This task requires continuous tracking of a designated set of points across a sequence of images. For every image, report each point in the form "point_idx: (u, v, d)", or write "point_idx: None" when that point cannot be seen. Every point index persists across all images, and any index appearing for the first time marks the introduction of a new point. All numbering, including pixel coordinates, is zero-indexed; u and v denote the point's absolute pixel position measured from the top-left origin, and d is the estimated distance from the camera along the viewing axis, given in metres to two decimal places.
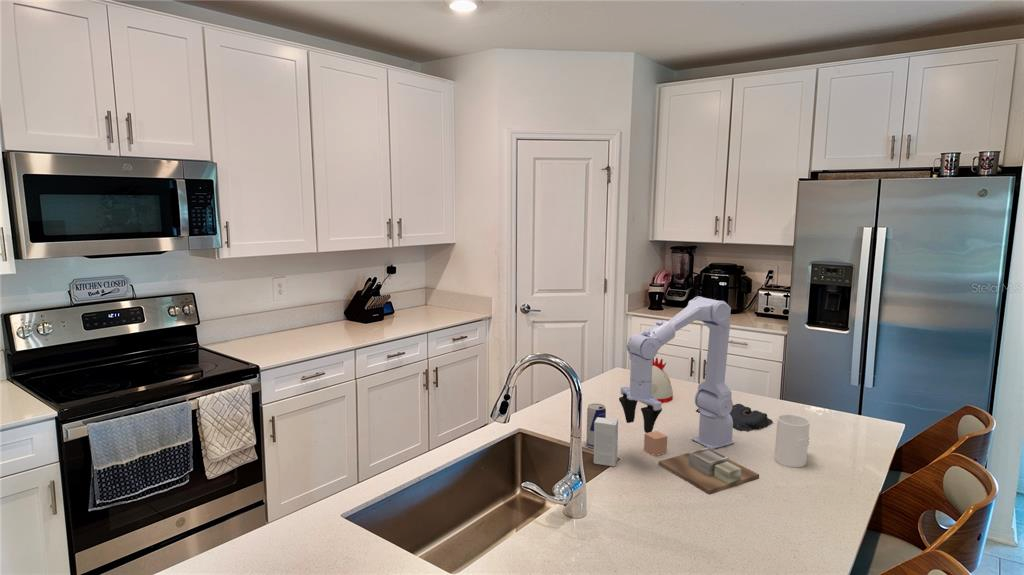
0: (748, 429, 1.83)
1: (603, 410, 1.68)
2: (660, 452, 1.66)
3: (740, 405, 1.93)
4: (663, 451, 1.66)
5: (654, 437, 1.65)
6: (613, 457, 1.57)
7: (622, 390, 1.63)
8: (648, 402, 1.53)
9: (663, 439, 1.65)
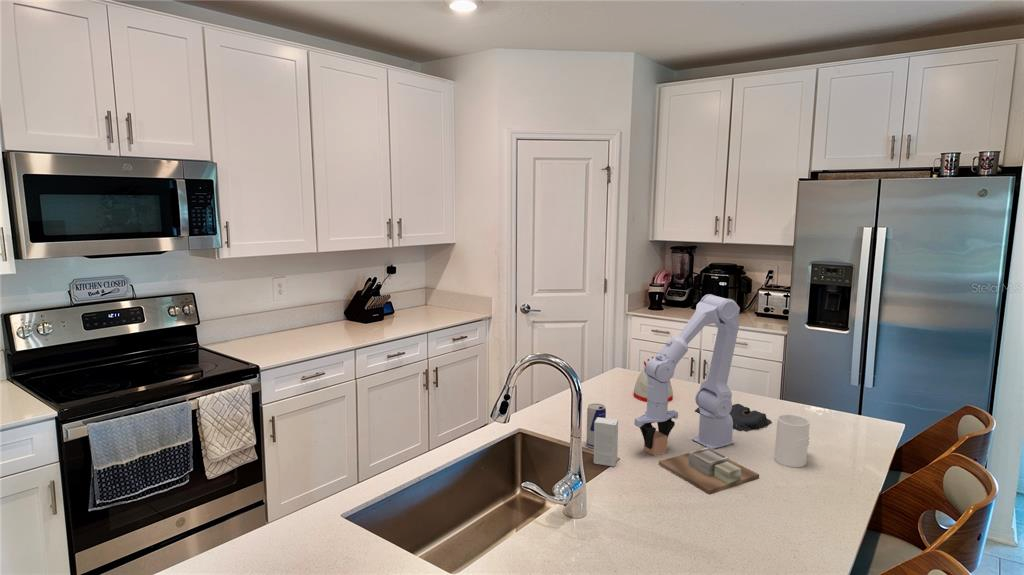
0: (747, 429, 1.83)
1: (603, 410, 1.68)
2: (660, 452, 1.66)
3: (739, 405, 1.93)
4: (663, 451, 1.66)
5: (654, 437, 1.65)
6: (613, 457, 1.57)
7: None
8: None
9: (663, 439, 1.65)
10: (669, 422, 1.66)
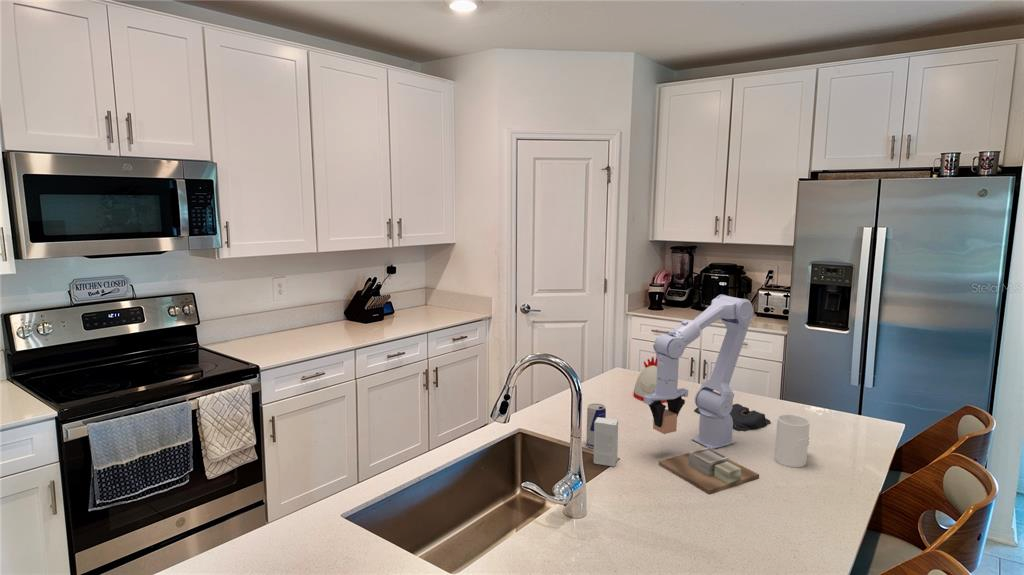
0: (745, 429, 1.83)
1: (603, 410, 1.68)
2: (670, 430, 1.62)
3: (738, 405, 1.93)
4: (673, 429, 1.63)
5: (664, 415, 1.62)
6: (613, 457, 1.57)
7: None
8: None
9: (672, 417, 1.62)
10: (679, 400, 1.63)
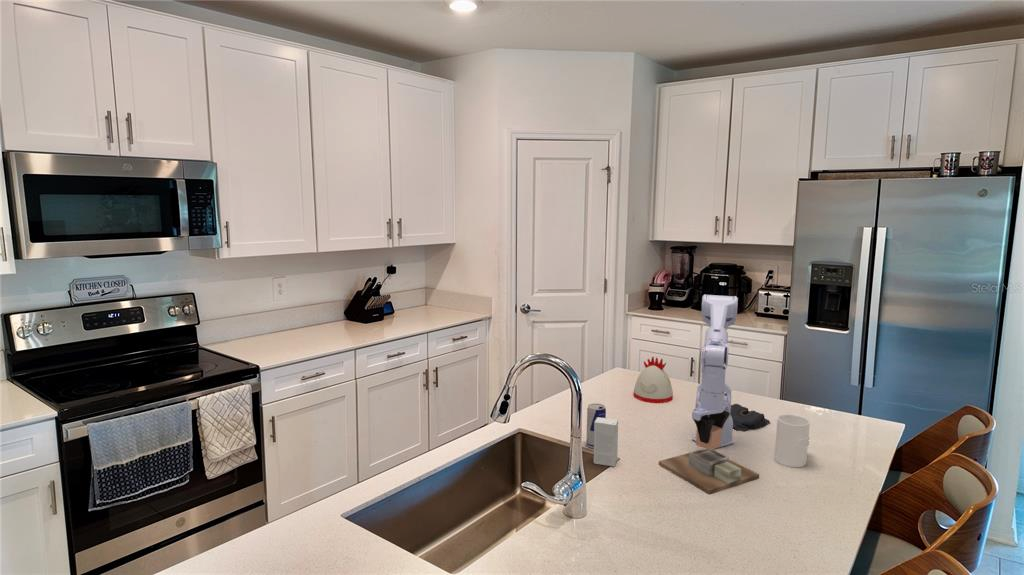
0: (745, 429, 1.83)
1: (603, 410, 1.68)
2: (715, 446, 1.53)
3: (737, 405, 1.93)
4: (718, 444, 1.53)
5: None
6: (613, 457, 1.57)
7: None
8: None
9: (718, 432, 1.53)
10: (724, 413, 1.54)
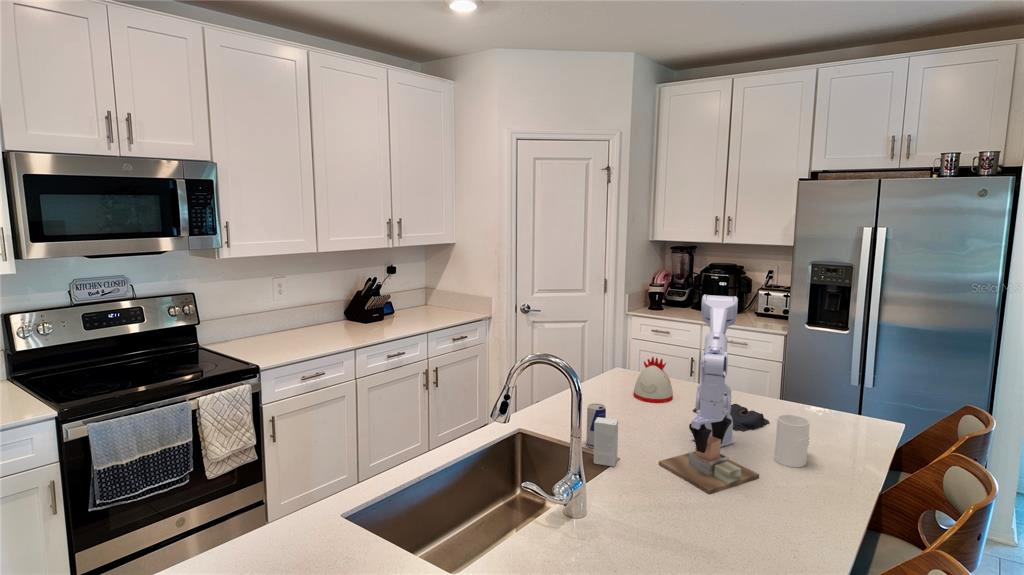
0: (744, 429, 1.83)
1: (603, 410, 1.68)
2: (715, 457, 1.53)
3: (737, 405, 1.93)
4: (717, 456, 1.54)
5: (710, 442, 1.52)
6: (613, 457, 1.57)
7: None
8: None
9: (717, 443, 1.53)
10: (726, 420, 1.55)
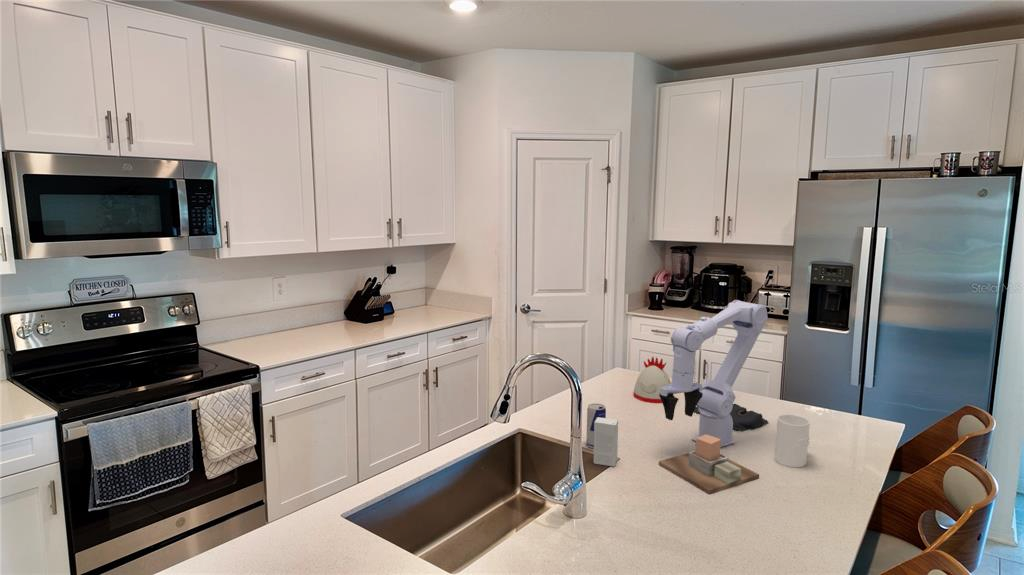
0: (742, 429, 1.83)
1: (603, 410, 1.68)
2: (715, 457, 1.53)
3: (736, 405, 1.93)
4: (717, 456, 1.54)
5: (710, 442, 1.52)
6: (613, 457, 1.57)
7: None
8: None
9: (717, 443, 1.53)
10: (697, 393, 1.65)
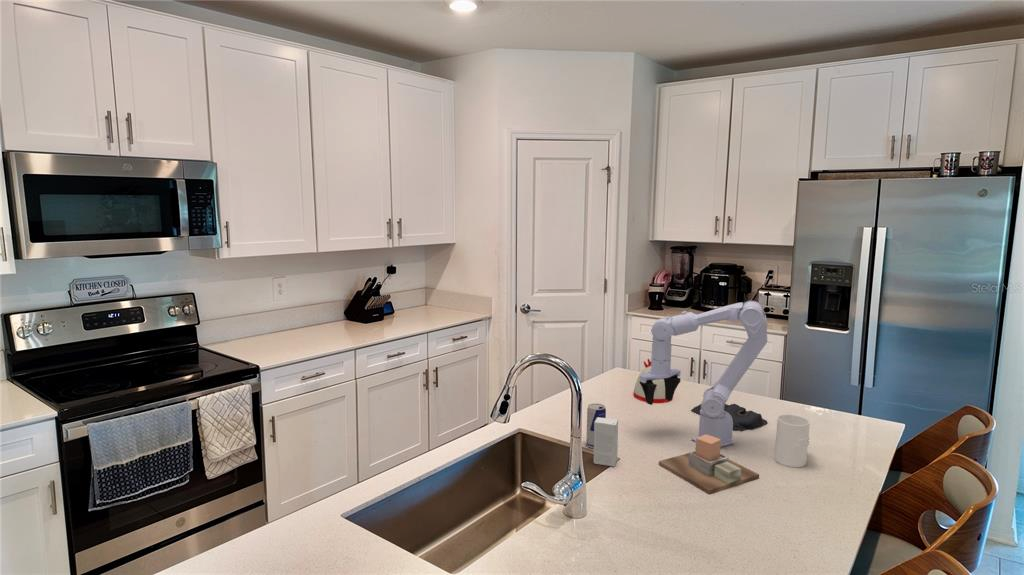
0: (742, 429, 1.83)
1: (603, 410, 1.68)
2: (715, 457, 1.53)
3: (735, 405, 1.93)
4: (717, 456, 1.54)
5: (710, 442, 1.52)
6: (613, 457, 1.57)
7: None
8: None
9: (717, 443, 1.53)
10: (675, 378, 1.77)
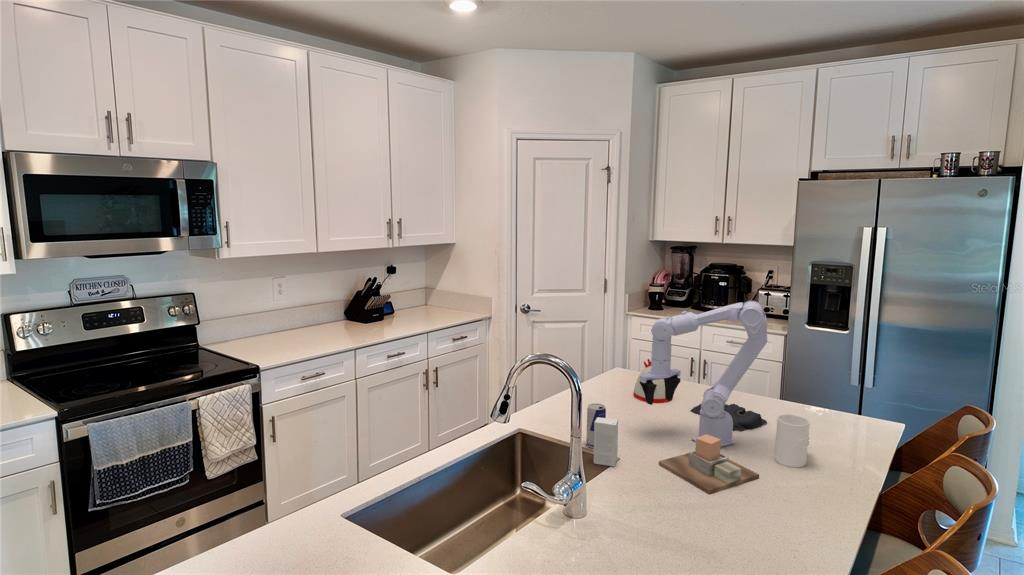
0: (741, 429, 1.83)
1: (603, 410, 1.68)
2: (715, 457, 1.53)
3: (734, 405, 1.93)
4: (717, 456, 1.54)
5: (710, 442, 1.52)
6: (613, 457, 1.57)
7: None
8: None
9: (717, 443, 1.53)
10: (675, 378, 1.77)
